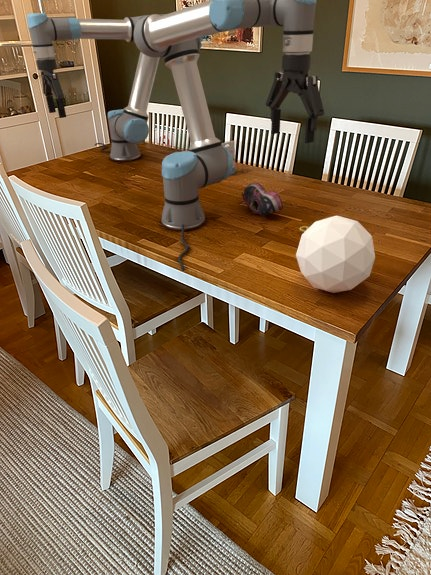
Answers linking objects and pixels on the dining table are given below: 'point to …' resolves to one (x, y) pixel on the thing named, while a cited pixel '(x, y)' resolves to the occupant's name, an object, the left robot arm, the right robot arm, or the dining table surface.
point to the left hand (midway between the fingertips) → (57, 115)
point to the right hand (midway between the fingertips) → (291, 137)
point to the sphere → (335, 254)
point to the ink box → (232, 151)
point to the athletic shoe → (261, 200)
